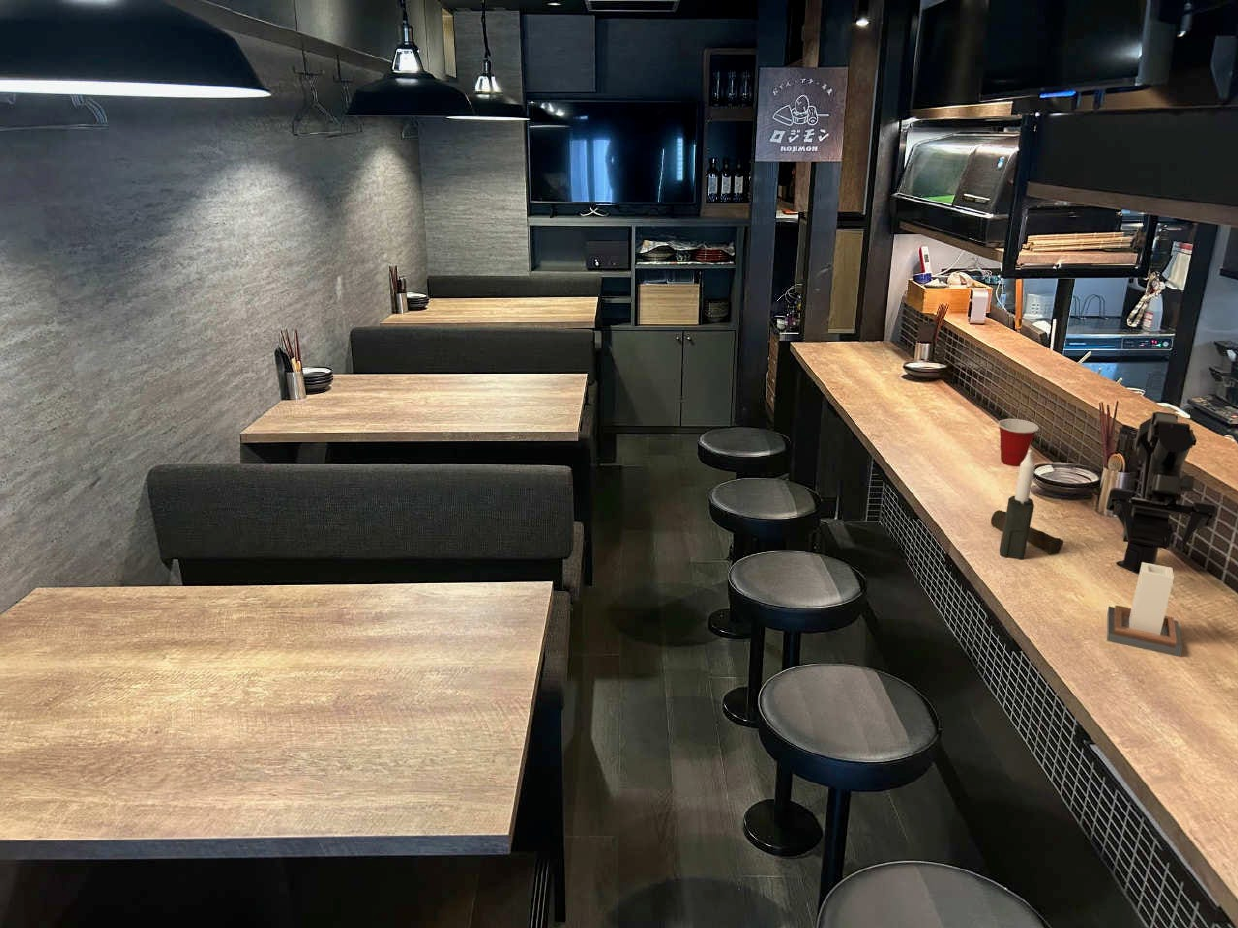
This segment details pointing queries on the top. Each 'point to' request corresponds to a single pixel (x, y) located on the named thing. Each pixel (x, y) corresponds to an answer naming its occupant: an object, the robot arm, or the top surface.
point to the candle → (1019, 514)
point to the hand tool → (1031, 535)
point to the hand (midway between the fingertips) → (1154, 545)
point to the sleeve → (1151, 598)
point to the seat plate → (1143, 633)
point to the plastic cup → (1015, 440)
